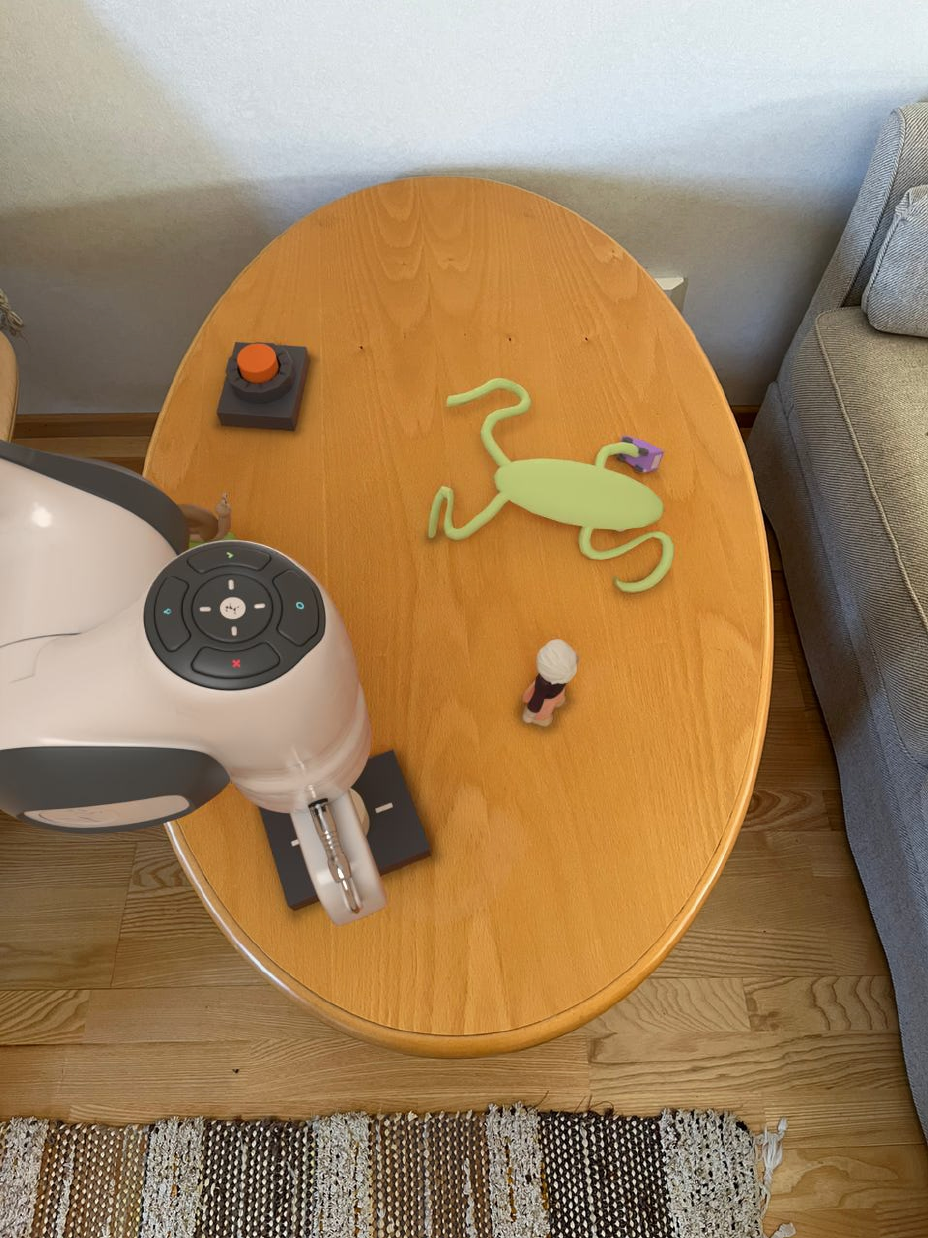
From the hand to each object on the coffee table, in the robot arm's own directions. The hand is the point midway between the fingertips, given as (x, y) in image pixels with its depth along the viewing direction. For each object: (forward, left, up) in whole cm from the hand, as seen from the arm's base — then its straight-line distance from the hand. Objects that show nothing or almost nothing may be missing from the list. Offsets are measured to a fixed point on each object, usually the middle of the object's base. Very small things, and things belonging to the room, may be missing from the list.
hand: (323, 791), depth 61 cm
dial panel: (0, -1, -12) cm, 12 cm away
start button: (+7, +48, -8) cm, 50 cm away
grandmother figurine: (+20, +3, -12) cm, 24 cm away
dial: (0, -1, -9) cm, 9 cm away
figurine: (+30, +24, -12) cm, 41 cm away
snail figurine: (-3, +29, -12) cm, 31 cm away
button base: (+7, +48, -12) cm, 50 cm away
